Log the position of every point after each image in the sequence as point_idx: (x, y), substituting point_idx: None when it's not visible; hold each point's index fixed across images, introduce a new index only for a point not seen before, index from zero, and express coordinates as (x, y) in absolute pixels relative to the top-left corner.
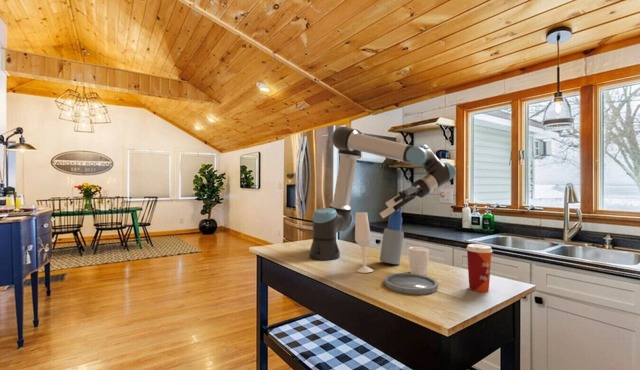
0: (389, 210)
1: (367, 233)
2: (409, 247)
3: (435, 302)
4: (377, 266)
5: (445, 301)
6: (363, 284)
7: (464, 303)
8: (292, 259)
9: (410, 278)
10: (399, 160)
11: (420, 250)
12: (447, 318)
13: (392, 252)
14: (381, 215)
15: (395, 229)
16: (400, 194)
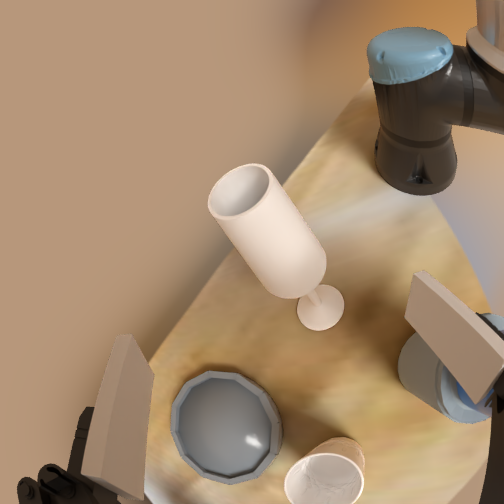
0: (462, 350)
1: (258, 278)
2: (340, 456)
3: (155, 447)
4: (385, 331)
5: (162, 464)
6: (214, 325)
7: (161, 487)
8: (352, 123)
9: (253, 434)
10: None
11: (359, 487)
12: None
13: (407, 378)
14: (409, 295)
15: (458, 388)
16: (66, 479)
